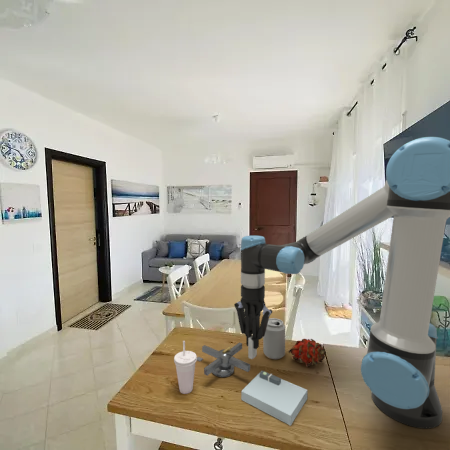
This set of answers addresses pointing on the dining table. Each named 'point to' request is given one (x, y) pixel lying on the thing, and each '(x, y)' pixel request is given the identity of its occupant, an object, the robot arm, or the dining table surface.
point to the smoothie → (185, 369)
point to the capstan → (224, 361)
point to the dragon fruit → (308, 352)
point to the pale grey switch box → (275, 396)
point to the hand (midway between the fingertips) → (252, 356)
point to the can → (274, 339)
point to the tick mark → (199, 359)
